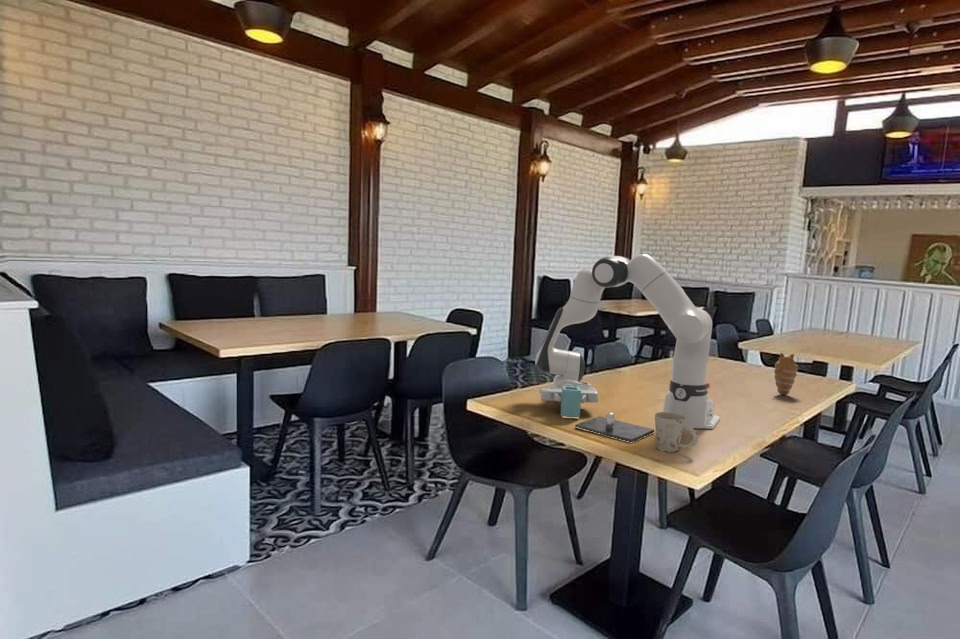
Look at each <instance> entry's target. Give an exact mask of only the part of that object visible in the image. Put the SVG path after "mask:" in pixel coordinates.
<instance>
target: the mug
mask: <svg viewBox="0 0 960 639" xmlns="http://www.w3.org/2000/svg"><path fill="white" fill-rule="evenodd" d="M684 421H685V417H684V416H682V415H680V414H676V413H670V412H663V411H659V412H656V413H655V414H654V423H655V438H656V439H655V440H656V441H655V442H656V448H658V450H659V449H660V450H659V451H661V450H663V451H662V452H665V451H669V452H668V453H676V452H675V451H677V452H678V451H679V449H680V448H681V449H691V448H692V447H694V446H695V445H696V444H697V441H698V435H697V432H696V430H694V429H695V428H692V427H690V426H687V425H684ZM683 430H687V431H689V432H690V434H691V435H692V436H691V437H692V439H691V442H690V443H688V444H687V445H686V444H682V443H681V438H682V434H683Z"/></svg>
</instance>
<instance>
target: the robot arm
mask: <svg viewBox="0 0 960 639" xmlns="http://www.w3.org/2000/svg"><path fill="white" fill-rule="evenodd" d="M628 283H631V284H633V285H634V286H635V287H636V288H637V289H638V290H639V291H640V292H641V294H642V295H643V296H644V297H645V299H646V300H647V301H648V302H649V304H650V305H652V307H653V308H654V309H655V310H656V312H657V313H658V314H659V316H660V317H661V319H662V321H664V323H665V325H666V326H667V327H668V329H669V330H670V332H671V333H672V334H673V336H674V337H675V339H676V340H675V342H676V343H675V347H674V352H673V357H672V365H671V366H672V368H671V369H672V371H671V380H669V386H668V387H669V388H668V389H669V392H668V393H666V395H665V397H664V402H663V403H664V404H663V409H662V412H670V413H676V414H680V415H682V416H684V417H685V421H684V425H687V426H690V427H692V428H693V429H709V430H711V429H712V430H713V429H714V428H715V427H717V426H716V425H718V423H719V422H720V421H721V416H718V415H717V414H714V408H715V405H714V401H713V400H712V399H711V398H710V396H709V395H708V394H709V393H708V391H709V389H710V386H711V384H710V382H707V374H708V373H707V372H708V360H709V354H710V347H711V342H712V341H711V339H712V331H713V330H712V329H713V320H712V317H711V315H710V314H709V313H708V312H707V311H706V310H704V309H701V308H697V306H695V304H694V303H693V301H692V300H691V299H690V297H689V296H688V295H687V294H686V292H685V290H684V289H683V288H682V286H681V285H680V284H679V283H678V282H677V281H676V280H675V278H674V277H673V276H672V275H671V274H670V273H669V272H668V271H667V270H666V269H665V268H664V267H663V266H662V265H661V263H659V262H658V261H657V260H656V259H655V258H653V257H652V256H651V255H649V254H647V253H640V254H638V255H636V256H634V257H633V258H632V259H630V258H629V257H627V256H623V255H610V256H606V257H605V256H604V257H602V258H600V259H598V260H597V261H595V263H594V265H593V266H592V268H585V269H581V270H580V271H578V273H577V275H576V277H575V280H574V282H573V284H572V288H571V291H570V295H569V297H568V301H566V303H565V305H563V306H562V307H559V308H558V309H557V311H556V313H555V315H554V316H553V318H552V321H551V323H550V325H549V326H548V327H549V328H548V329H547V331H546V334H545V337H544V339H543V342H542V343H541V346H540V348H539V349H538V351H537V353H536V356H535V360H534V361H535V362H534V363H535V364H534V365H535V367H536V368H537V370H538V371H539V372H540V373H542V374H553V375H555V376H554V378H553V381H552V386H543V387H541V389H539V390H538V392H539V394H540V400H541V401H547V402H548V401H549V402H557V403H561V402H562V396H561V394H562V386H572V387H579V388H580V389H581V404H585V403H591V404H592V403H593V404H595V403H598V401H599V393H598V391H597V389H596V388H595V387H593V386H592V384H591V383H589V382H583V381H582V380H583V377H584V374H585V370H586V363H585V359H584V357H583V355H582V354H581V353H580V352H577V351H572V350H565V349H561V348H560V349H558V348H555V347H554V346H555V343H556V342H557V339H558V336H559V335H560V332H561V330H562V329H563V328H565V327H566V326H567V327H568V326H571V325H575V324H582V323H585V322H588V321H591V319H593V318H594V317H595V316H596V314H597V313H598V310H599V306H600V302H601V298H602V296H603V295H602V294H603V292H604V290H605V289H606V288H607V289H608V288H609V289H610V288H619V287H621V286H623V285H626V284H628Z"/></svg>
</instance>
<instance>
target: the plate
mask: <svg viewBox="0 0 960 639" xmlns="http://www.w3.org/2000/svg"><path fill="white" fill-rule="evenodd" d="M574 427H579V428H582V429H586V430H589V431H593V432H596V433H600V434H603V435H606V436H610V437H614V438H617V439H621V440H625V441H629V442H633V441H635V442H637V441H636V440H638V439H640V438H642V437H644V436H646V437H648V436H647V435H649V434H651V433H653V432H654V433H655V429H654V428H649V427H645V426H641V425H637V424H633V423H629V422H626V421H625V422H624V421H621V420H617V419H615V414H614V413H613V412H608V413H607V414H606V417H604V416H597V417H593V418H591V419H588V420H584V421H582V422H579V423H576V424H575V425H574ZM654 433H653V434H654ZM651 435H652V434H651ZM606 436H605V437H606ZM649 436H650V435H649ZM610 437H609V438H610ZM644 438H645V437H644ZM617 439H616V440H617ZM642 439H643V438H642ZM621 440H620V441H621ZM640 440H641V439H640ZM625 441H624V442H625ZM638 441H639V440H638ZM633 443H634V442H633Z"/></svg>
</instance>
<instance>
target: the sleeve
mask: <svg viewBox="0 0 960 639" xmlns="http://www.w3.org/2000/svg"><path fill="white" fill-rule="evenodd" d="M561 396H562V402H560V415H561V414H562V416H565V417H566V416H567V417H580V418H581V404H582V403H581V389H580V388H579V387H572V386H562V394H561Z"/></svg>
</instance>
